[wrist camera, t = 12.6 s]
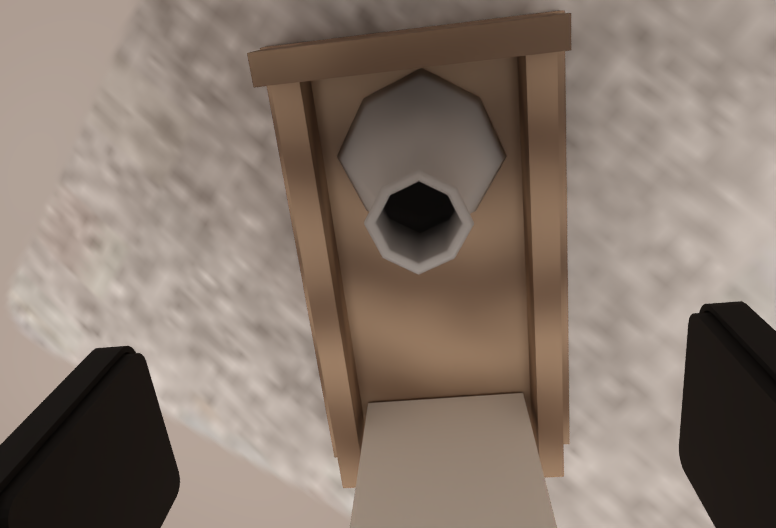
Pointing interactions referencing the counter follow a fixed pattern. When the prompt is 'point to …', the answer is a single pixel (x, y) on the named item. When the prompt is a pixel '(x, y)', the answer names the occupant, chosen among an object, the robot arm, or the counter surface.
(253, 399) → the counter surface
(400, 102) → the flask
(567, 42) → the wooden crate tray
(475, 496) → the rectangular block
